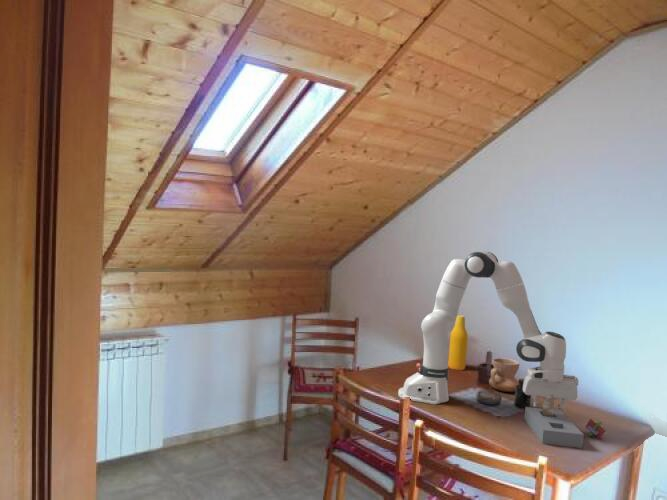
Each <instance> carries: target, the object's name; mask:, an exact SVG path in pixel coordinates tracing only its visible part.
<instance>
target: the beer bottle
mask: <svg viewBox="0 0 667 500" xmlns="http://www.w3.org/2000/svg"><path fill="white" fill-rule="evenodd" d="M465 318H466V317H465V315H460V314H459V315H458V314H457V318H456V321H455V325H454V327H453V329H452V330H451V331H450V337H449V338H450V339H449V359H448V368H449V369H451V370H454V369H455V370H456V371H463V370H465V369H466V361H467V360H466V359H467V348H468V332H467V330H466V319H465ZM455 370H454V371H455Z"/></svg>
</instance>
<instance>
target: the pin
mask: <svg viewBox="0 0 667 500" xmlns="http://www.w3.org/2000/svg"><path fill="white" fill-rule="evenodd" d="M542 398H543V400H542V408H541V409H542V416H548V417H553V410H555V408H554V407H555V399H556V398H554V397H553V395H550V394H548V397H542Z"/></svg>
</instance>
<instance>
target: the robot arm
mask: <svg viewBox="0 0 667 500" xmlns="http://www.w3.org/2000/svg"><path fill="white" fill-rule="evenodd" d="M472 277H473V278H484V279H485V278H487V279H488V278H490V279H491V280H492V282H493V284H494V287H495V289H496V293H497V296H498V299H499V300H500V303H501V304H502V305H503V306H504V307H505V308H506V309H508V310H510V311H511V312H512V313H513V314H514V315H515V316H516V318H517V320H518V323H519V326H520V328H521V330H522V334H523V338H522V339H521V340H520V341H518V343H516V346H515V347H516V353H517V356H518V358H520V359H521V360H522V361H524V362H529V363H535V362H536V363H539V366H535V367H530V368H527V371H526V374H527V375H525V377H524V378H523V379H524V383H523V392H524V393H525V394H526V395H531V400H532V401H533V408H539V405H540V403H539V401H537V397H541V398H544V397H548V394H550V395H553V397H554V398H555V399H561V402H560V403H558V405H557V408H558V410H560V411H562V410H564V407H565V405H566V404H567V403H568V400H570V401H571V400H572V401H576V400H577V398H578V386H579V379H578V378H577V377H576V376H575V375H569V374H565V360H566V355H567V341H566V338H565V337H564V336H563V335H562V334H560V333H557V332H554V331H546V332H544V333H542V332H541V330H540V329H539V327H538V325H537V322H536V320H535V317H534V314H533V311H532V308H531V307H530V303H529V298H528V294H527V290H526V287H525V283H524V281H523V278H522V275H521V274H520V272H519V270H518V268H517V266H516V264H515V263H514V262H513V261H510V260H503V261H499V260H498V258H497V256H496V255H495V254H494V253H493V252H490V251H486V250H479V251H473V252H471V253H470V254H469V255H467V257H466V258H465V259H462V258H454V259H452V260H451V261H450V263H449V264H448V265H447V268H446V269H445V271H444V273H443V276H442V279H441V280H440V283H439V286H438V289H437V291H436V294H435V302H434V306H433V310H432V312H431V313H429V314H427V315H426V316H425V317H424V318H423V319H422V321H421V324H420V328H421V331H422V338H423V340H422V341H423V357H422V359H423V360H422V364H421V363H416V368H417V372H416V373H414V374H412V375H410V376H408V377H407V378H406V379H405V381H404V383H403V386H402V387H400V388H399V389H398V393H397V395H398V397H399V398H401V397H410V399H411V400H410V401H414V402H419V403H424V404H431V405H438V404H443V403H446V402H448V401H450V398H449V391H448V380H449V374H450V373H449V371H450V368H449V367H448V360H449V349H450V347H449V344H448V343H449V342H448V334H449V333H451V332H452V330H453V329H454V327H455V323H456V318H457V315H458V314H459V309H460V307H461V306H460V305H461V303H462V301H463V297H464V294H465V292H466V289H467V287H468V284H469V282H470V280H471V279H472Z"/></svg>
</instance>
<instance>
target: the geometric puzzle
mask: <svg viewBox="0 0 667 500" xmlns="http://www.w3.org/2000/svg"><path fill="white" fill-rule="evenodd" d="M596 421H598V420H596ZM601 424H604V422H603V421H598V422H595V420H594V419H591V418H589V419H588V420H587V421H586V424H585V429H586V430H587V431H589V432H590V434H588V432H586V433H587V436H588V438H592V439H593V436H595V437H596V438H597V439H599V440H600V441H602V438H603V436H604V434H605V433H606V430H605V428H604V427H602V426H601Z"/></svg>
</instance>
